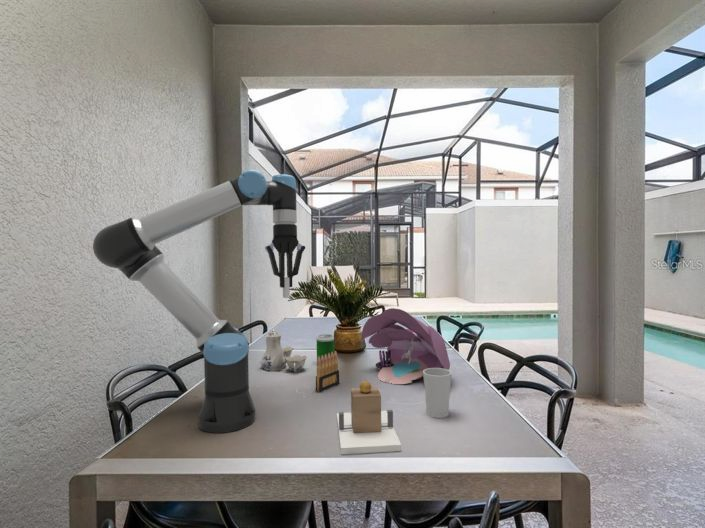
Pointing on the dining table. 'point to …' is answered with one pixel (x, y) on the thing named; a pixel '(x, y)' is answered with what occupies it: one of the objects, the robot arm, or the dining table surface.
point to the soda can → (325, 345)
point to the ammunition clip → (327, 372)
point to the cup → (437, 391)
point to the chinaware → (280, 355)
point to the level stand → (367, 436)
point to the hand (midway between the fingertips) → (286, 297)
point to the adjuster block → (365, 408)
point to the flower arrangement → (405, 346)
